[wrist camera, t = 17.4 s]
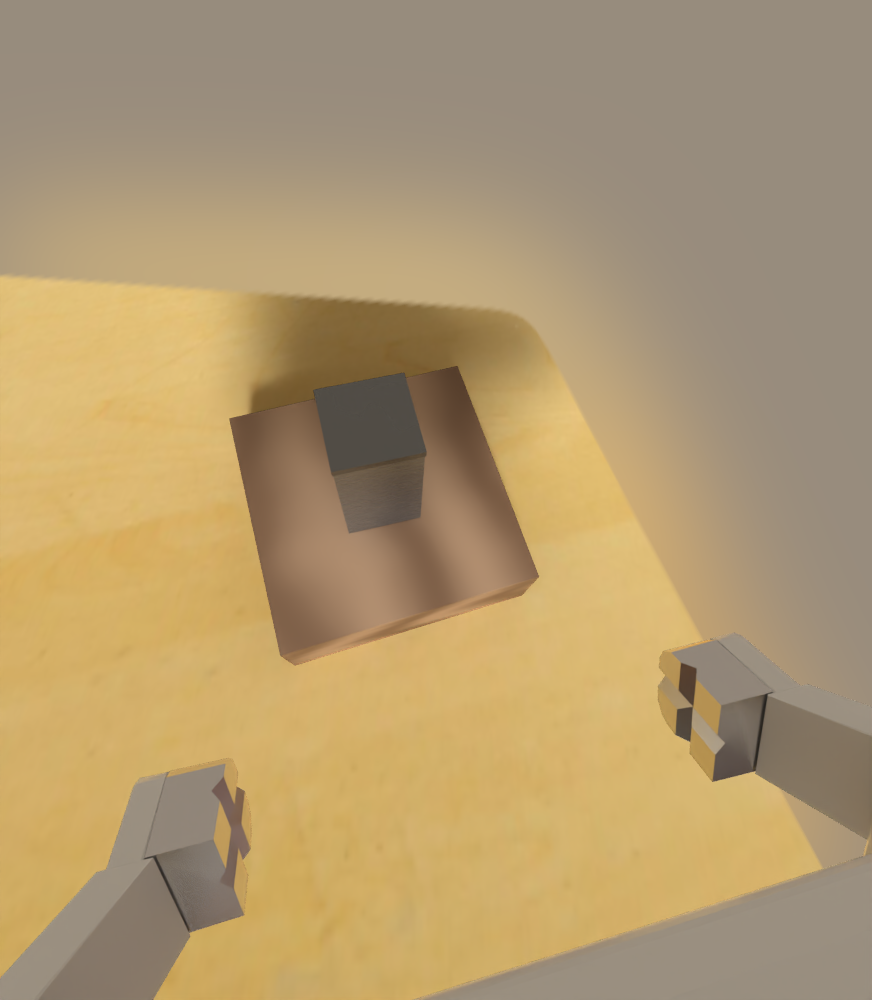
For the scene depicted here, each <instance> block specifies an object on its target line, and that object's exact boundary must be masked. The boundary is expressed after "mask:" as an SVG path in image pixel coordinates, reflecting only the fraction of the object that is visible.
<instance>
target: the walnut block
mask: <svg viewBox="0 0 872 1000" xmlns="http://www.w3.org/2000/svg"><path fill="white" fill-rule="evenodd" d="M406 380H407V384H408V387H409V391H410V394H411V398H412V401H413V405H414V409H415V412H416V416H417V419H418V423H419V426H420V430H421V433H422V437H423V440H424V444H425V447H426V451H427V456H426V457H425V464H424V478H423V491H422V505H421V517H420V518H416V519H412V520H407V521H403V522H398V523H394V524H390V525H385V526H381V527H376V528H372V529H367V530H363V531H359V532H354V533H350V534H349V532H348V528H347V524H346V521H345V517H344V513H343V510H342V506H341V503H340V499H339V495H338V492H337V488H336V484H335V481H334V477H333V476H332V475H331V470H330V466H329V461H328V456H327V452H326V447H325V442H324V438H323V433H322V428H321V423H320V419H319V414H318V409H317V405H316V400H315V399H312V400H308V401H303V402H299V403H295V404H290V405H286V406H282V407H277V408H273V409H269V410H264V411H260V412H256V413H251V414H247V415H243V416H238V417H234V418H230V424H231V429H232V433H233V438H234V443H235V447H236V452H237V457H238V461H239V466H240V470H241V475H242V480H243V484H244V489H245V494H246V498H247V503H248V508H249V512H250V517H251V522H252V526H253V531H254V535H255V540H256V545H257V549H258V554H259V559H260V563H261V568H262V573H263V577H264V582H265V586H266V591H267V596H268V600H269V605H270V610H271V614H272V619H273V624H274V628H275V633H276V638H277V642H278V647H279V651H280V656H282V657H283V658H285V659H286V660H288V661H289V662H291V663H292V664H294V665H298V664H301V663H305V662H308V661H311V660H314V659H318V658H321V657H324V656H327V655H330V654H334V653H337V652H340V651H343V650H347V649H350V648H353V647H356V646H360V645H363V644H366V643H369V642H372V641H376V640H379V639H382V638H385V637H389V636H392V635H395V634H398V633H402V632H405V631H408V630H411V629H414V628H418V627H421V626H424V625H427V624H431V623H434V622H437V621H440V620H443V619H447V618H450V617H453V616H456V615H460V614H463V613H466V612H469V611H473V610H476V609H479V608H482V607H485V606H489V605H492V604H495V603H498V602H502V601H505V600H508V599H511V598H515V597H518V596H521V595H523V594H524V592H525V591H526V590H527V589H528V588H529V587H530V586H531V585H532V584H533V583H534V582H535V581H536V580H537V578H538V577H539V575H538V573H537V570H536V568H535V565H534V562H533V560H532V557H531V555H530V552H529V550H528V547H527V544H526V542H525V539H524V537H523V534H522V532H521V529H520V526H519V524H518V521H517V519H516V516H515V513H514V511H513V508H512V506H511V503H510V501H509V498H508V495H507V493H506V490H505V488H504V485H503V483H502V480H501V477H500V475H499V472H498V470H497V467H496V464H495V462H494V459H493V457H492V454H491V452H490V449H489V446H488V444H487V441H486V439H485V436H484V434H483V431H482V428H481V426H480V423H479V421H478V418H477V416H476V413H475V410H474V408H473V405H472V403H471V400H470V397H469V395H468V392H467V390H466V387H465V385H464V382H463V379H462V377H461V374H460V372H459V369H458V367H457V366H455V367H451V368H446V369H442V370H438V371H433V372H429V373H425V374H420V375H416V376H412V377H407V378H406Z"/></svg>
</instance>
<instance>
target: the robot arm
mask: <svg viewBox="0 0 872 1000" xmlns="http://www.w3.org/2000/svg"><path fill="white" fill-rule="evenodd" d="M659 668H660V669H661V671H662V672H663V673H664V674H665V677H664V678H663V680H662V681H661V683H660V684H659V685H658V702H659V705H660V709H661V712H662V715H663V717H664V719H665V721H666V722H667V724H668V726H669V727H670V728H671V730H672V731H673V732H674V734H675V735H677V736H679V737H681V738H683V739H685V740H687V741H689V742H690V754H691V755H692V757H693V758H694V759H695V761H696V762H697V763H698V764H699V766H700V767H701V768H702V769H703V771H704V772H705V773H706V774H707V776H708V777H709V778H710V780H711V781H712V782H714V781H718V780H722V779H726V778H730V777H734V776H738V775H742V774H746V773H750V772H754V771H756V773H755V774H757V775H759V776H760V777H762V778H764V779H765V780H767V781H769V782H770V783H772V784H774V785H775V786H777V787H779V788H780V789H782V790H784V791H786V792H787V793H789V794H791V795H792V796H794V797H796V798H797V799H799V800H801V801H803V802H804V803H806V804H807V805H809V806H811V807H813V808H814V809H816V810H818V811H819V812H821V813H823V814H824V815H826V816H828V817H829V818H831V819H833V820H835V821H836V822H838V823H840V824H841V825H843V826H845V827H847V828H848V829H850V830H851V831H853V832H855V833H856V834H858V835H860V836H862V837H863V838H865V839H867V843H866V847H865V851H864V854H863V856H862V857H859V858H856V859H853V860H850V861H846V862H843V863H840V864H837V865H834V866H831V867H828V868H824V869H821V870H818V871H815V872H812V873H809V874H806V875H802V876H799V877H796V878H793V879H790V880H787V881H784V882H780V883H777V884H774V885H771V886H768V887H765V888H762V889H759V890H755V891H752V892H749V893H746V894H743V895H740V896H737V897H734V898H730V899H727V900H724V901H721V902H718V903H715V904H712V905H708V906H705V907H702V908H699V909H696V910H693V911H690V912H687V913H683V914H680V915H677V916H674V917H671V918H668V919H665V920H662V921H658V922H655V923H652V924H649V925H646V926H643V927H640V928H637V929H633V930H630V931H627V932H624V933H621V934H618V935H615V936H611V937H608V938H605V939H602V940H599V941H596V942H593V943H590V944H586V945H583V946H580V947H577V948H574V949H571V950H568V951H564V952H561V953H558V954H555V955H552V956H549V957H546V958H543V959H539V960H536V961H533V962H530V963H527V964H524V965H521V966H517V967H514V968H511V969H508V970H505V971H502V972H499V973H496V974H492V975H489V976H486V977H483V978H480V979H477V980H474V981H470V982H467V983H464V984H461V985H458V986H455V987H452V988H449V989H445V990H442V991H439V992H436V993H433V994H430V995H427V996H423V997H420V998H417V999H414V1000H872V707H871V706H868V705H865V704H863V703H860V702H857V701H854V700H851V699H849V698H846V697H843V696H840V695H837V694H835V693H832V692H829V691H826V690H823V689H820V688H818V687H815V686H812V685H809V684H807V685H802V686H800V685H799V684H798V683H797V682H796V681H794V680H793V679H792V678H791V677H790V676H789V675H787V674H786V673H785V672H784V671H782V670H781V669H780V668H779V667H778V666H777V665H776V664H774V663H773V662H772V661H771V660H770V659H768V658H767V657H766V656H765V655H764V654H763V653H762V652H760V651H759V650H758V649H757V648H755V647H754V646H753V645H752V644H751V643H750V642H749V641H747V640H746V639H745V638H744V637H743V636H741V635H739V634H736V633H731V634H727V635H724V636H720V637H715V638H712V639H710V640H704V641H701V642H697V643H693V644H689V645H685V646H681V647H677V648H673V649H669V650H665V651H663V652H662V654H661V656H660V662H659ZM237 779H238V771H237V769H236V766H235V764H234V761H233V759H230V758H226V759H222V760H217V761H213V762H208V763H204V764H199V765H194V766H190V767H185V768H181V769H176V770H172V771H170V772H166V773H161V774H157V775H152V776H147V777H143V778H140V779H139V780H138V781H137V782H136V784H135V785H134V787H133V789H132V792H131V795H130V798H129V801H128V804H127V807H126V810H125V814H124V817H123V820H122V823H121V826H120V829H119V832H118V835H117V838H116V841H115V844H114V847H113V850H112V853H111V856H110V859H109V862H108V865H107V868H106V870H103V871H100V872H96V873H95V874H94V875H93V877H92V878H91V879H90V880H89V881H88V882H87V883H86V884H85V885H84V887H83V888H82V889H81V890H80V891H79V892H78V893H77V894H76V895H75V896H74V898H73V899H72V900H71V901H70V902H69V903H68V904H67V905H66V906H65V907H64V909H63V910H62V911H61V912H60V913H59V914H58V915H57V916H56V917H55V918H54V920H53V921H52V922H51V923H50V924H49V925H48V926H47V927H46V928H45V929H44V931H43V932H42V933H41V934H40V935H39V936H38V937H37V938H36V939H35V940H34V942H33V943H32V944H31V945H30V946H29V947H28V948H27V949H26V950H25V951H24V953H23V954H22V955H21V956H20V957H19V958H18V959H17V960H16V961H15V962H14V964H13V965H12V966H11V967H10V968H9V969H8V970H7V971H6V972H5V973H4V975H3V976H2V977H1V978H0V1000H153V999H154V997H155V995H156V994H157V992H158V990H159V988H160V987H161V985H162V983H163V982H164V980H165V978H166V977H167V975H168V973H169V971H170V970H171V968H172V966H173V965H174V963H175V961H176V960H177V958H178V956H179V954H180V953H181V951H182V949H183V948H184V946H185V944H186V942H187V941H188V939H189V937H190V934H189V933H190V932H193V931H196V930H199V929H202V928H205V927H209V926H212V925H215V924H218V923H221V922H224V921H228V920H231V919H234V918H237V917H240V916H243V915H244V913H245V903H246V893H247V882H248V873H247V870H246V867H245V865H244V862H243V859H244V858H245V856H246V855H247V854H248V852H249V851H250V849H251V837H252V828H251V813H250V808H249V803H248V799H247V796H246V793H245V791H244V790H242V789H240V788H238V787H237Z"/></svg>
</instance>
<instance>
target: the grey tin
mask: <svg viewBox="0 0 872 1000" xmlns="http://www.w3.org/2000/svg"><path fill="white" fill-rule="evenodd" d="M313 391H314V395H315V400H316V405H317V409H318V414H319V419H320V423H321V428H322V433H323V438H324V442H325V447H326V452H327V456H328V461H329V466H330V470H331V475H332V476H333V477H334V481H335V484H336V488H337V492H338V495H339V499H340V503H341V506H342V510H343V513H344V517H345V521H346V524H347V528H348V532H349V534H350V533H354V532H359V531H363V530H367V529H372V528H376V527H381V526H385V525H390V524H394V523H398V522H403V521H407V520H412V519H416V518H420V517H421V505H422V491H423V478H424V464H425V457H426V456H427V451H426V447H425V444H424V440H423V437H422V433H421V430H420V426H419V423H418V419H417V416H416V412H415V409H414V405H413V401H412V398H411V394H410V391H409V387H408V384H407V380H406V377H405V373H400V374H395V375H389V376H384V377H379V378H373V379H368V380H363V381H358V382H352V383H347V384H342V385H336V386H331V387H326V388H321V389H315V390H313Z"/></svg>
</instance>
